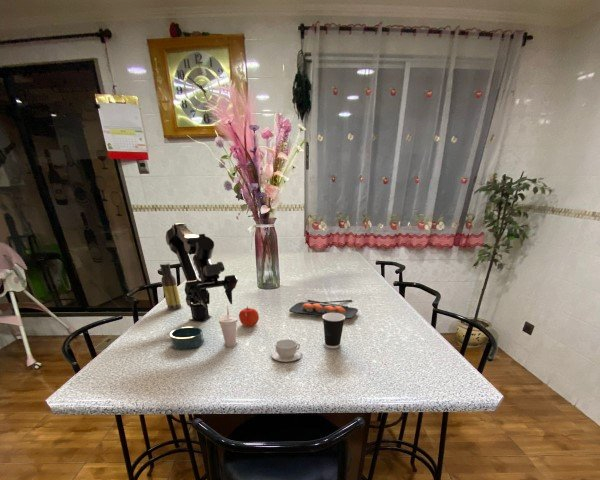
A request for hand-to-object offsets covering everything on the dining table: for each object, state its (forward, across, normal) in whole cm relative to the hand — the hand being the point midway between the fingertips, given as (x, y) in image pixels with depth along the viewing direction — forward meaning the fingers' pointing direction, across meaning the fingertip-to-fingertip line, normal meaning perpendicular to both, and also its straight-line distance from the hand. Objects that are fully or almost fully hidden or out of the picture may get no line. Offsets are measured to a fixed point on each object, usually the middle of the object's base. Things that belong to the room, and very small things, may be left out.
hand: (219, 305), depth 129 cm
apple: (+4, +14, +14) cm, 21 cm away
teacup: (+28, +12, -10) cm, 32 cm away
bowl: (+7, -13, +11) cm, 18 cm away
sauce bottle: (-25, -6, +43) cm, 50 cm away
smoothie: (+14, 0, +4) cm, 14 cm away
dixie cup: (+29, +30, -10) cm, 43 cm away
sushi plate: (+4, +54, +14) cm, 56 cm away
